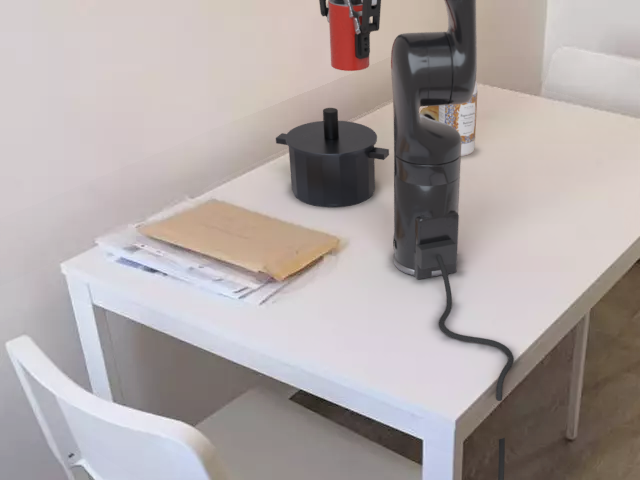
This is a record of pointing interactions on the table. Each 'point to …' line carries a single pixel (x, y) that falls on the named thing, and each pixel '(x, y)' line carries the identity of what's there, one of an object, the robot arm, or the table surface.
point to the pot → (333, 176)
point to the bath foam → (462, 121)
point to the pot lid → (331, 137)
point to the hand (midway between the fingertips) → (350, 52)
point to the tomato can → (344, 37)
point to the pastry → (431, 112)
